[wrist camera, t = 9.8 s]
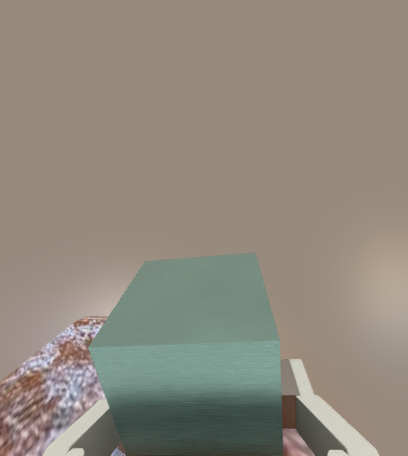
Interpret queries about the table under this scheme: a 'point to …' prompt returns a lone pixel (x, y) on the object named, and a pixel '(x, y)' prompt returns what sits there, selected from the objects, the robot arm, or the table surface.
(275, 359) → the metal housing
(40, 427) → the table surface
